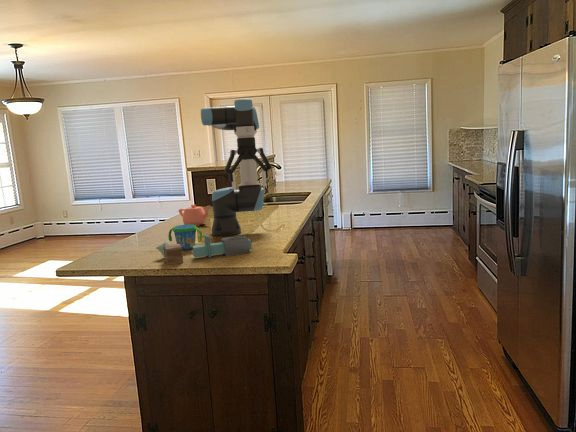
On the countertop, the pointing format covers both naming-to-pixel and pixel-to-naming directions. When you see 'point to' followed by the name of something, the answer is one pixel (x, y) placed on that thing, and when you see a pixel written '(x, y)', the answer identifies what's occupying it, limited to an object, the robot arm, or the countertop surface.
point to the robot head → (162, 248)
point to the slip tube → (211, 248)
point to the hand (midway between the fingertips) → (249, 187)
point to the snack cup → (185, 235)
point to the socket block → (173, 254)
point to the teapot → (194, 215)
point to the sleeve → (236, 245)
